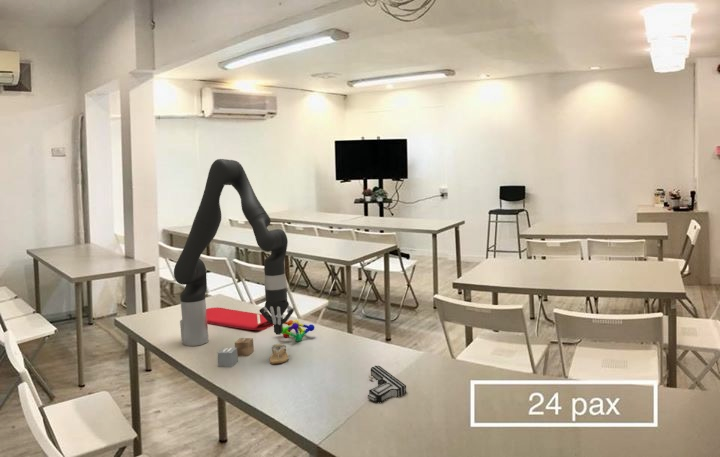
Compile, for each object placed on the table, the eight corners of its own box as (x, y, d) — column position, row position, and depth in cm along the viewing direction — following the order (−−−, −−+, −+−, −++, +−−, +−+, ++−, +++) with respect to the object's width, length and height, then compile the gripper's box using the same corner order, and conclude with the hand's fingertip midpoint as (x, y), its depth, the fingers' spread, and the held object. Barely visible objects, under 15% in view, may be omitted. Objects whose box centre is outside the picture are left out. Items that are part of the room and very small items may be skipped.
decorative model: (298, 320, 213) (318, 318, 201) (297, 342, 211) (317, 341, 199) (270, 319, 205) (289, 317, 193) (269, 341, 203) (288, 340, 191)
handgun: (372, 396, 145) (409, 386, 150) (345, 372, 162) (379, 364, 167) (373, 406, 145) (409, 396, 150) (346, 381, 162) (379, 373, 167)
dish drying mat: (215, 311, 246) (214, 304, 245) (281, 323, 224) (280, 315, 223) (188, 321, 232) (187, 313, 232) (256, 334, 211) (255, 325, 210)
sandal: (270, 366, 176) (269, 352, 175) (267, 350, 191) (266, 337, 190) (290, 364, 177) (289, 350, 177) (285, 348, 193) (284, 335, 192)
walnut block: (235, 355, 187) (234, 342, 186) (240, 350, 192) (240, 337, 191) (248, 356, 186) (247, 342, 185) (253, 351, 191) (252, 337, 190)
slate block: (218, 366, 177) (217, 352, 176) (224, 361, 182) (223, 346, 181) (232, 367, 176) (231, 352, 176) (238, 361, 181) (236, 347, 181)
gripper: (253, 289, 179) (257, 337, 181) (290, 289, 176) (293, 337, 179) (261, 284, 186) (264, 330, 188) (296, 283, 184) (299, 330, 186)
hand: (278, 333), depth 183 cm, fingers closed
